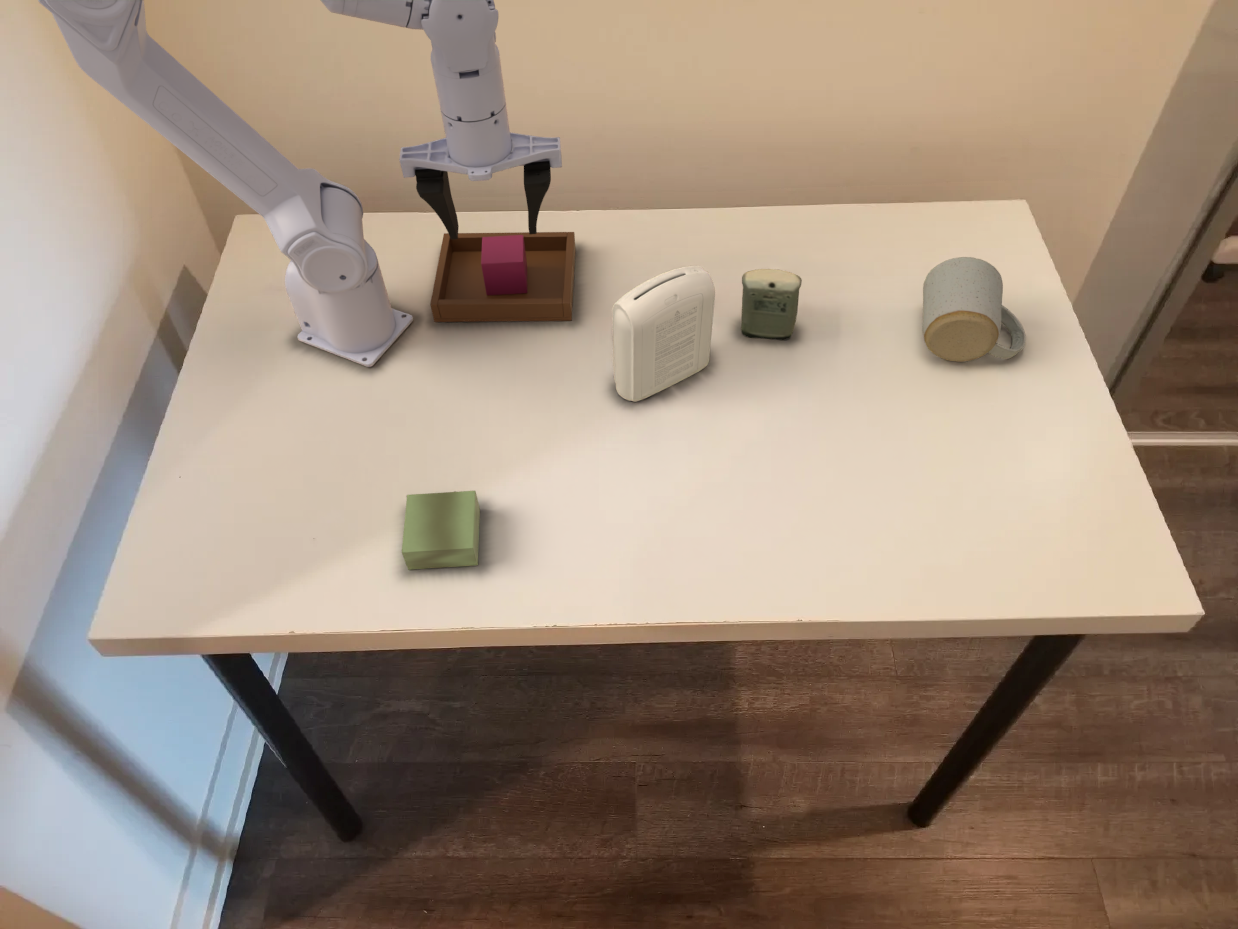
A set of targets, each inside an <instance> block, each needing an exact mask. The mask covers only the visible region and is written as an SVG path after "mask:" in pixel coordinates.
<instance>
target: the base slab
mask: <svg viewBox="0 0 1238 929" xmlns="http://www.w3.org/2000/svg"><path fill="white" fill-rule="evenodd" d="M405 502H406V503H405V513H404V524H403V534H402V544H401V555H402V558H403V560H404V562H405V565H406V568H407V570H408V571H410V570H423V569H424V570H425V569H426V570H427V569H440V568H441V569H442V568H443V569H444V568H457V567H459V568H460V567H473V566H478V565H479V545H480V543H479V542H480V518H481V516H480V514H481V513H480V512H481V508H480V504H479V499H478V496H477V491H476V490H463V491H462V490H461V491H447V492H445V491H444V492H429V493H414V494H412V493H411V494H406V500H405Z"/></svg>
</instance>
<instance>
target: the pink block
mask: <svg viewBox="0 0 1238 929" xmlns="http://www.w3.org/2000/svg"><path fill="white" fill-rule="evenodd" d="M481 266H482V272H483V278H484V283H485V289H486V295H504V294H522V293H527V260H526V252H525V244H524V236H523V235H513V236H495V237H482V255H481Z"/></svg>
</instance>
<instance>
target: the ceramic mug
mask: <svg viewBox="0 0 1238 929" xmlns="http://www.w3.org/2000/svg"><path fill="white" fill-rule="evenodd" d="M1003 291H1004V282H1003V278H1002V275H1001V273H1000V272H999V270H998V269H997V268H996V267H995V265H993V264H992V263H990V262H988V261H986V260H983V259H982V258H976V257H972V256H961V257H960V256H959V257H953V258H949V259H946V260H944V261H942V262H940V263H938V264H936V265H935V266H934V267H933V268H932V269H930V271H929V272H928V273H927V275H926V276H925V278H924V281H923V285H922V322H921V324H922V325H921V328H922V329H921V331H922V337H923V340H924V343H925V345H926V347H927V349H928V351H930V352H931V353H932V354H933V355H934V356H936V357H938V358H940V359H943V360H946V361H950V362H957V363H958V362H960V363H961V362H970V361H974V360H977V359H980V358H982V357H984V356H985V355H986V354H988V355H990V356H992V357H995V358H998V359H1002V360H1008V359H1011V358H1013V357H1014V356H1016V355H1017V354H1018V353H1020V352H1021V351H1022V350H1023V349H1024V348H1025V345H1026V340H1027V339H1026V338H1027V336H1026V331H1025V329H1024V326H1023V325H1022V323H1021V321H1020V320H1019V318H1017V316H1016V315H1015V314H1014V313H1013V312H1011V310H1009V308H1007V307H1006V306H1004V305H1003ZM1002 325H1003V326H1004V327H1005V328H1006V330H1007V331H1008V333H1009V335H1010V336H1011V339H1012V340H1011V346H1010V348H1009V347H1006V346H1003V345H1002V344H1000V343H998V340H999V338H1000V334H1001V330H1002Z"/></svg>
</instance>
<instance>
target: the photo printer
mask: <svg viewBox="0 0 1238 929" xmlns="http://www.w3.org/2000/svg"><path fill="white" fill-rule="evenodd" d="M715 300H716V289H715V284H714V281H713V278H712V276H711V274H710V272H709V271H706V270H705V269H704V268H703V266H702V265H688V266H683V267H678V268H674V269H671V270H668V271H666V272H662V273H660V274H658V275H656V276H654V277H651V278H649V279H648V280H645V281H643V282H642V283H639V285H637V286H635V287H634V288H632V289H630V290H629V291H628V292H626V293H625V294H624V295H622V296H621V297H620V298H619V299H617V301H616V302H615V303H614V304H613V306H612V308H611V330H612V331H611V332H612V333H611V334H612V336H611V337H612V338H611V339H612V370H613V371H612V372H613V380H614V382H615V389H616V392H617V394H618V395H619V396H620V397H621V398H622V399H624V400H626V401H628V402H631V401H632V402H634V403H635V402H639V401H642V400H645V399H647V398H649V397H651V396H654V395H655V394H657V393H660V392H662V391H663V390H666V389H668V388H670V387H672V386H674V385H675V384H678V383H679V382H681V381H683V380H686V379H687V378H689V377H692V376H694V375H695V374H697V373H698V372H700V371H702V370H703V369H705V368H706V367H707V366H708V365H709V363H710V357H711V356H710V355H711V344H712V332H713V320H714V310H715Z"/></svg>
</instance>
